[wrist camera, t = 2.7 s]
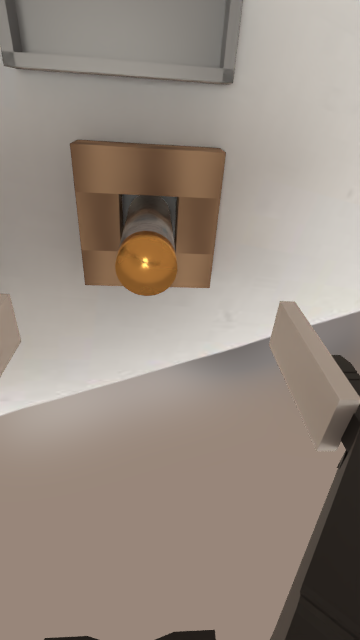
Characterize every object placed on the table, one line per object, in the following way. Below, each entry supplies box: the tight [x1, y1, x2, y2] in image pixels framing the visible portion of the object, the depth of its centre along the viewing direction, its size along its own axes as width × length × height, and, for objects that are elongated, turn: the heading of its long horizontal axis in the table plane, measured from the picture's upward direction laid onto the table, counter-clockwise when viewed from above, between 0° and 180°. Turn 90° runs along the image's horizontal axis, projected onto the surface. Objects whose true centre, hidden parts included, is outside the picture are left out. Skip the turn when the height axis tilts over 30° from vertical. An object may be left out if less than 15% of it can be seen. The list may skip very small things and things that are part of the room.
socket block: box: [70, 140, 226, 288], centre depth 30 cm, size 12×12×3 cm
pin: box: [115, 195, 177, 296], centre depth 27 cm, size 4×4×12 cm
